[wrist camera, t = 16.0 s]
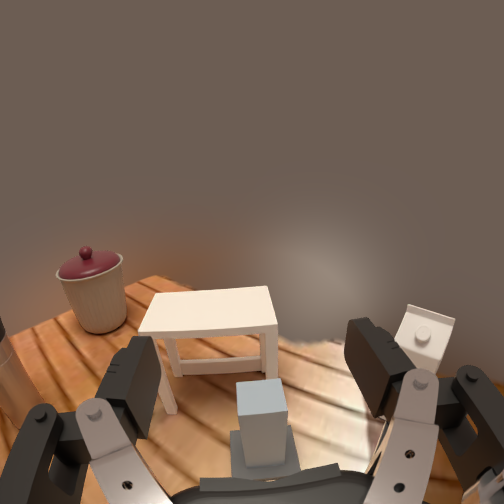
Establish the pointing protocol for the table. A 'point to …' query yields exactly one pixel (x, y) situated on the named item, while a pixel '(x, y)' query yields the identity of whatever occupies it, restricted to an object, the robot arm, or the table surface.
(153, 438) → the table surface
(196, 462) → the table surface
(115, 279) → the canister
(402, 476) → the robot arm
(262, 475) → the mat
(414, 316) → the milk carton
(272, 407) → the blank
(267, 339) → the rack
